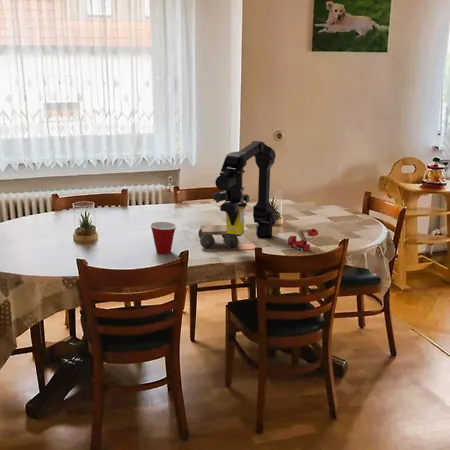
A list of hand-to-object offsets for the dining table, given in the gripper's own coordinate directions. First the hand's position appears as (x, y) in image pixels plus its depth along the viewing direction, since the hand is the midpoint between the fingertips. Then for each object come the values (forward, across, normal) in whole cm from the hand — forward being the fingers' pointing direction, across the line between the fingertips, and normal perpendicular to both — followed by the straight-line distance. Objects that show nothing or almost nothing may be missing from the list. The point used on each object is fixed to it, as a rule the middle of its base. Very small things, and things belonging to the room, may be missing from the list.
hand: (235, 223), depth 220 cm
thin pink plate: (+13, -8, +2) cm, 15 cm away
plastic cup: (+12, +11, -27) cm, 32 cm away
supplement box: (+5, 0, 0) cm, 5 cm away
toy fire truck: (+13, -14, +25) cm, 31 cm away
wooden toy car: (+13, -8, -10) cm, 18 cm away
